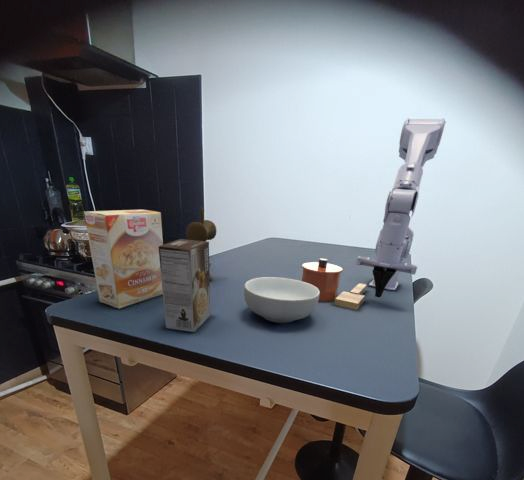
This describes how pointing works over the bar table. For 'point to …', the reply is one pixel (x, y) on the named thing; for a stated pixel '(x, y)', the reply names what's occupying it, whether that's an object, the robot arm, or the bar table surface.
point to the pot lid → (322, 267)
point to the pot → (323, 284)
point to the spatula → (351, 297)
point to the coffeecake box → (125, 255)
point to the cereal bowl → (281, 298)
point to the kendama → (201, 230)
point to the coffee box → (185, 283)
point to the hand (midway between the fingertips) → (378, 296)
